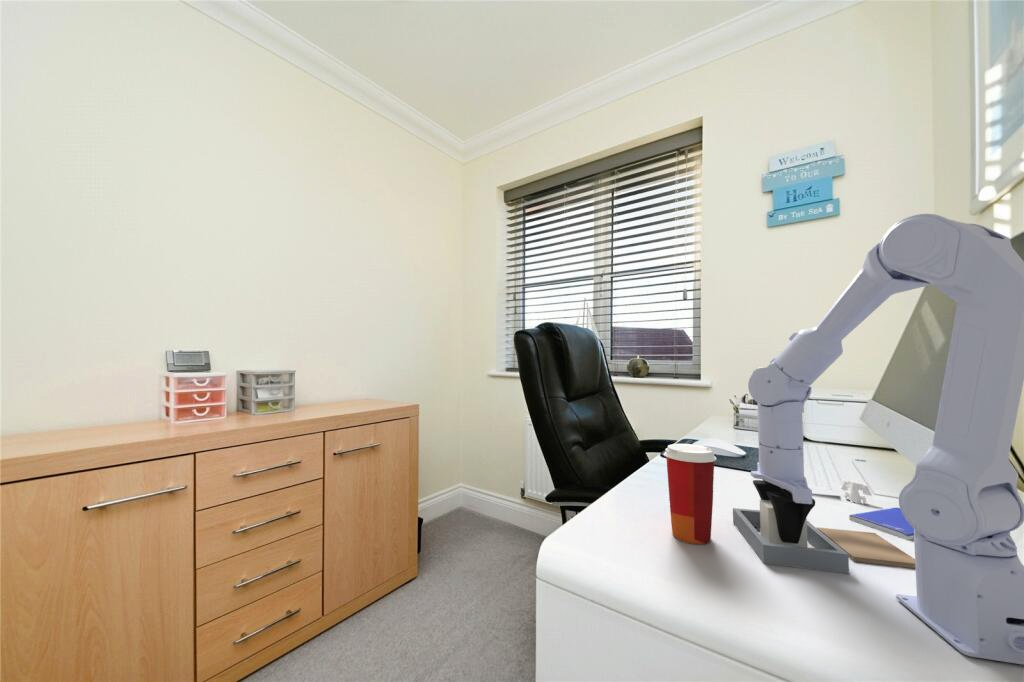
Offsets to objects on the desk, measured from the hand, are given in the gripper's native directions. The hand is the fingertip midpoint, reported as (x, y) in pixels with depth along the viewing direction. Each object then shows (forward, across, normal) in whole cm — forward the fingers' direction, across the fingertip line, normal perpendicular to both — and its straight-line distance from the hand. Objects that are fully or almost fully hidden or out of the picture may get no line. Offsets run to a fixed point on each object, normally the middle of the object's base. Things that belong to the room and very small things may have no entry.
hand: (783, 535), depth 59 cm
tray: (+1, 0, 0) cm, 1 cm away
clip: (+2, -25, +22) cm, 33 cm away
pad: (+1, -2, +12) cm, 12 cm away
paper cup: (+2, +1, -13) cm, 13 cm away
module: (+2, 0, 0) cm, 2 cm away
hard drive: (+2, -14, +23) cm, 27 cm away
